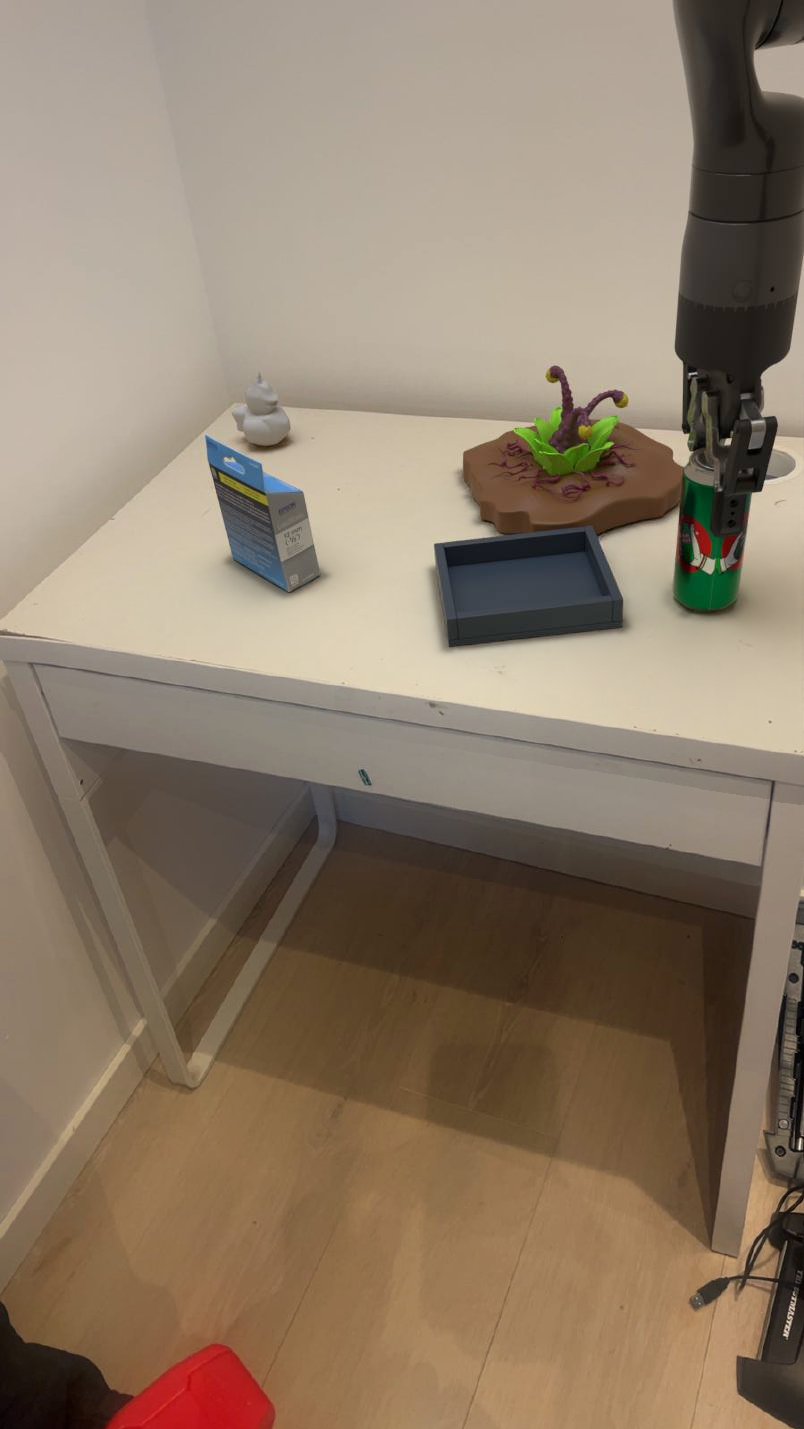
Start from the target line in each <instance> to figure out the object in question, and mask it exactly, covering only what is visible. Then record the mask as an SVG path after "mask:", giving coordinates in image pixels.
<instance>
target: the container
mask: <svg viewBox="0 0 804 1429" xmlns="http://www.w3.org/2000/svg"><path fill="white" fill-rule="evenodd" d="M433 551H434V561H435V572H436V578H437V583H438V590H439V597H440V601H441V608H442V613H443V614H442V615H443V620H444V626H445V632H446V638H447V645H448V647H457V646H465V645H474V644H483V643H491V642H501V641H502V642H503V641H510V640H517V639H518V640H519V639H527V638H537V637H545V636H554V635H563V634H572V633H580V632H590V631H597V630H599V631H601V630H607V629H608V630H609V629H616V628H617V629H619V628H622V627H623V613H624V597H623V596H622V595H623V594H622V592H621V590H620V588H619V585H618V583H617V581H616V579H615V576H614V574H613V572H612V569H611V567H610V564H609V561H608V560H607V557H606V554H605V552H604V550H603V548H602V545H601V542H600V540H599V538H598V534H597V535H596V533H595V530H594V528H593V526H584V527H575V528H566V529H558V530H549V531H540V532H531V533H515V534H507V535H506V534H504V535H496V536H487V537H479V538H470V539H469V538H468V539H464V540H463V539H461V540H453V541H444V542H436V543H433Z"/></svg>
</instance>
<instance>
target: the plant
mask: <svg viewBox="0 0 804 1429" xmlns="http://www.w3.org/2000/svg"><path fill="white" fill-rule="evenodd" d="M545 378H546V381H547V382H548V383H550V384H555V383H558V382H559V383H560V389H561V390H560V391H561V392H560V393H561V398H562V399H561V402H562V403H561V406H556V407H555V408H554V409H553V410H551V413H550V417H549V421H547V420H545V419H544V418H541V417H538V416H537V417H534V419H533V423H534V425H530V426H526V427H512V430H509V431H506V432H503V434H502V435H500V436H498V437H497V438H496V439H495V438H494V439H492V440H490V441H486V442H483V443H480V444H478V445H476V446H474V447H471V448H469V449H466V450H464V451H463V453H462V474H463V480H464V482H465V483H466V484H467V485H468V486H469V487H470V493H471V496H472V498H473V499H474V501H475V502H476V503H477V504H478V505H479V516H480V519H481V520H483V521H488V522H491V523H492V524H494V526H495V528H496V530H497V531H498V532H499V533H501V534H505V535H506V534H507V535H513V534H522V533H531V532H540V531H549V530H558V529H566V528H575V527H584V526H593V528H594V530H595V533H596V535H597V536H598V535H599V534H601V533H603V532H605V531H607V530H611V529H614V528H617V527H620V526H624V525H628V524H631V523H635V522H638V521H643V520H648V519H657V518H660V517H662V516H664V515H665V513H666V512H668V511H669V510H671V509H673V508H675V506H677V505H678V504H679V503H680V498H681V486H682V474H683V469H684V467H685V466H683V465H681V464H679V463H677V462H676V461H675V459H674V450H673V449H672V448H671V447H670V446H668V445H666V444H664V443H662V442H659V441H657V440H655V439H654V438H651V437H649V436H648V435H646V434H644V433H643V432H642V431H640V430H638V429H637V428H635V427H633V426H631V425H629V424H626V423H623V422H621V421H620V416H619V414H614V415H610V416H606V417H603V418H601V419H597V418H596V419H595V418H591V419H590V415H591V414H592V413H593V411H594V410H595V409H596V407H597V406H598V405H599V404H600V403H601V402H602V401H604V400H606V399H609V398H611V399H612V402H613V403H614V406H615V407H616V408H618V409H624V408H626V407H627V408H628V405H629V397H628V395H627V394H626V392H624V391H623V390H618V389H613V390H610V389H609V390H607V391H603V392H600V393H598V394H597V396H595V397H593V398H592V400H591V401H589V402H588V403H587V406H586V407H581V406H577V407H574V406H575V404H574V403H573V402H574V397H573V396H572V394H573V392H572V390H571V388H570V384H569V382H568V377H567V375H566V374H565V371H564V369H563V368H562V367H560V366H559V365H555V364H554V365H552V366H550V367H549V368H548V369H547V370H546V373H545Z"/></svg>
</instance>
